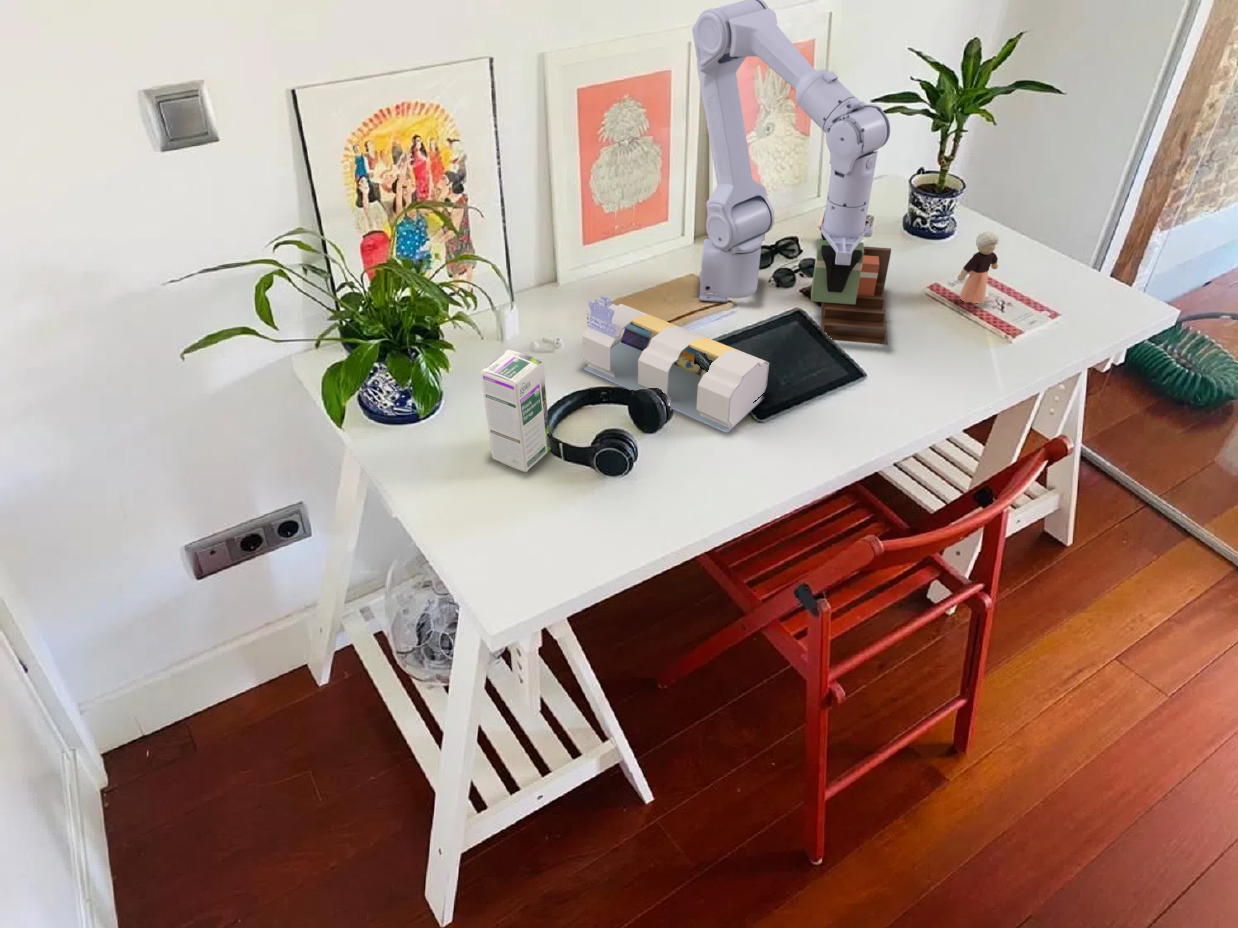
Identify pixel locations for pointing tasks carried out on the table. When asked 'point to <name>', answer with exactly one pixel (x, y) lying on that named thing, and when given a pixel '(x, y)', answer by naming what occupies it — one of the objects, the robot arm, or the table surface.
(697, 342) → the diorama
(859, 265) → the green book
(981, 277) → the grandmother figurine
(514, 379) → the syrup box
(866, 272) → the terracotta book
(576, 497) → the table surface
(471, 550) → the table surface
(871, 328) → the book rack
